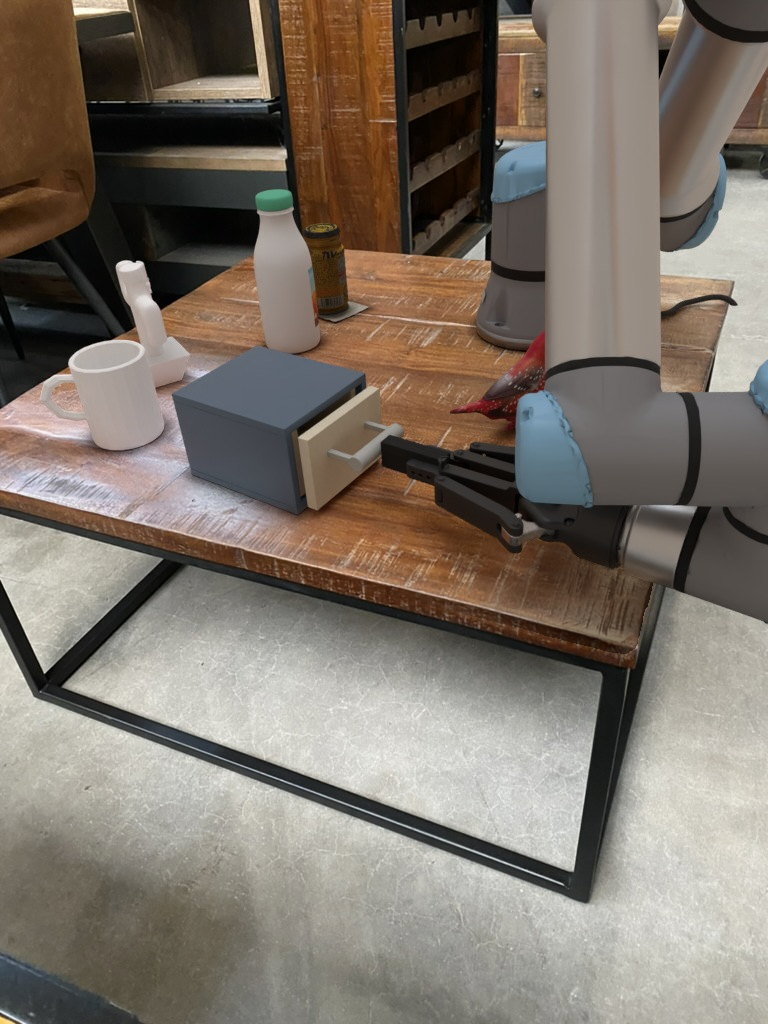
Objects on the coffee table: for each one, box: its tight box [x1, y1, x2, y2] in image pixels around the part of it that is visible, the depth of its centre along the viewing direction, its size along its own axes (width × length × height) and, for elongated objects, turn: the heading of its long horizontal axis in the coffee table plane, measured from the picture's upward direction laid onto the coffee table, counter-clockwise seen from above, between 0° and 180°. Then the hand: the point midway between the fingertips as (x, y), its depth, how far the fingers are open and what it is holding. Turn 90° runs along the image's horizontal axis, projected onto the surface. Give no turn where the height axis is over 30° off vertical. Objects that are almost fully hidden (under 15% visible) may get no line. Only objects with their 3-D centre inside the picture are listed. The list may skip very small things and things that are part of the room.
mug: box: [39, 339, 165, 451], centre depth 86 cm, size 8×12×10 cm
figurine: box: [115, 259, 191, 389], centre depth 96 cm, size 7×9×15 cm
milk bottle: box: [253, 188, 321, 355], centre depth 101 cm, size 8×8×20 cm
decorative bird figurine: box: [449, 331, 545, 433], centre depth 81 cm, size 3×18×10 cm, turn 132°
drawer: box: [291, 385, 405, 511], centre depth 77 cm, size 18×11×8 cm, turn 56°
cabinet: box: [171, 345, 367, 516], centre depth 79 cm, size 15×13×10 cm
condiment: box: [302, 222, 369, 322], centre depth 113 cm, size 7×8×12 cm
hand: (386, 450), depth 72 cm, fingers closed
